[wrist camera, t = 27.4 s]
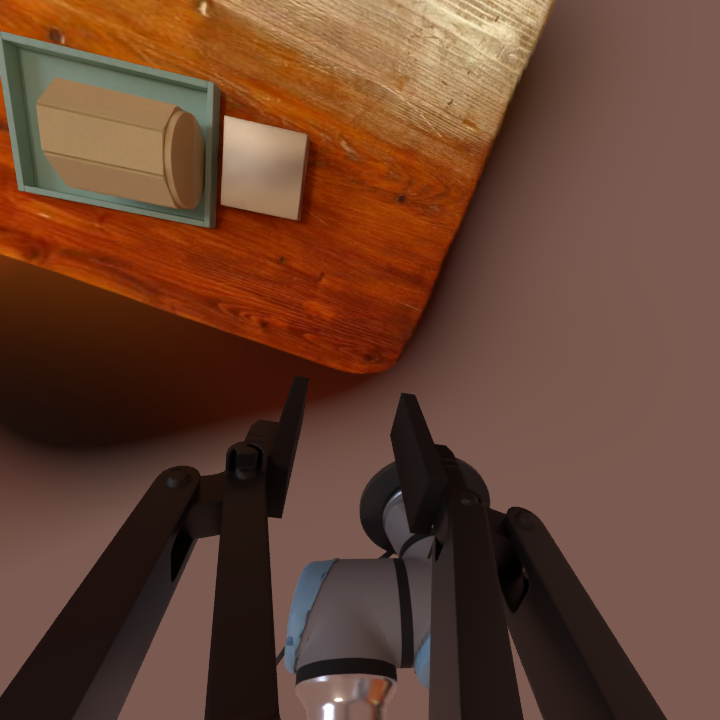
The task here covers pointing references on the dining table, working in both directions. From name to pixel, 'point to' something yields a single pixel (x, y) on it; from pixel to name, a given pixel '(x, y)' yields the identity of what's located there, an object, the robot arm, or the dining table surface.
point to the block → (263, 168)
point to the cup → (122, 144)
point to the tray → (48, 61)
